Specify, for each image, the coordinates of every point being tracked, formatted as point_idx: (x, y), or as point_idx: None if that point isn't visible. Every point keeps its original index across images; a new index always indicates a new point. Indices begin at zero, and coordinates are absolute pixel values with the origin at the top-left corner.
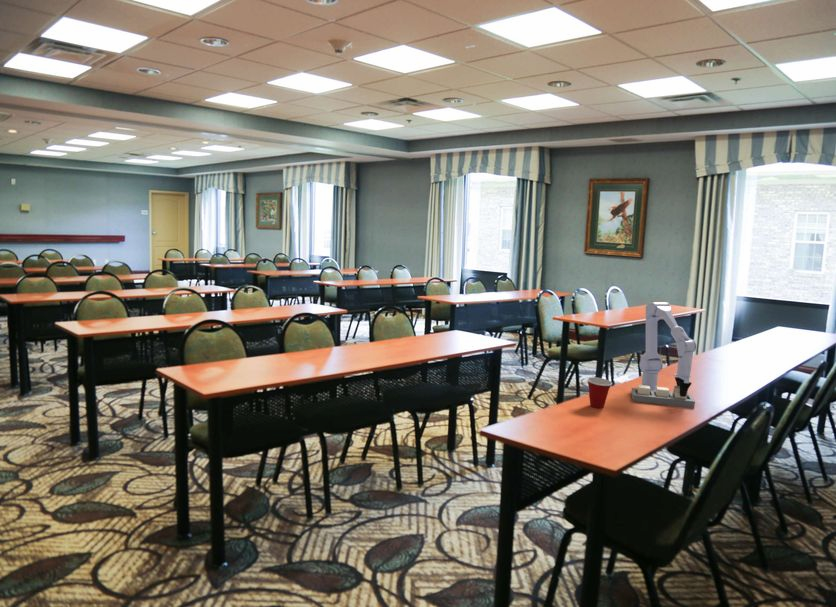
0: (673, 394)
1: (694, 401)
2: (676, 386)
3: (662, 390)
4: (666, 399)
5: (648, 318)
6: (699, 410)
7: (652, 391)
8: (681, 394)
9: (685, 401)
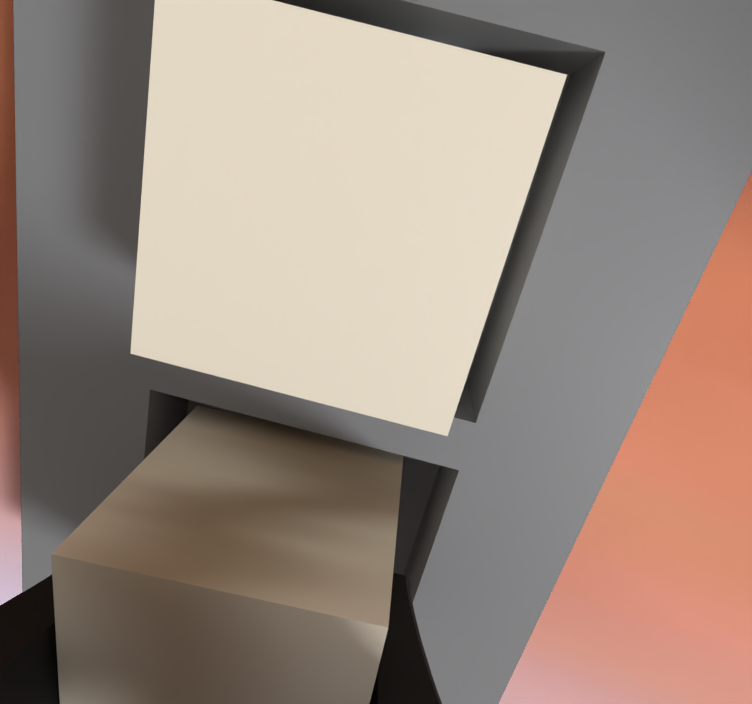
0: (363, 462)
1: None
2: (289, 650)
3: (151, 153)
4: (31, 186)
5: None
6: (7, 564)
7: (627, 23)
8: None
9: (32, 503)
